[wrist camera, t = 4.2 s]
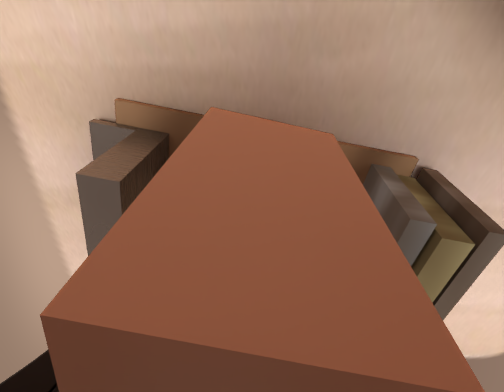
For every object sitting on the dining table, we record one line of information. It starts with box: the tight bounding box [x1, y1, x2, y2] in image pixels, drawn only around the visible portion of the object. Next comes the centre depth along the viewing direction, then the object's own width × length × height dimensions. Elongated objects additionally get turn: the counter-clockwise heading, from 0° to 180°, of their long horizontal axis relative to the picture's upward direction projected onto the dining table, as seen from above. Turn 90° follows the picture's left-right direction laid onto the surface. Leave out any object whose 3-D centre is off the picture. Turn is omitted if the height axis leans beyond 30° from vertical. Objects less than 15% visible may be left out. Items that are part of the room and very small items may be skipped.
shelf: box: [115, 98, 504, 320], centre depth 19 cm, size 22×13×8 cm, turn 80°
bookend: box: [76, 119, 169, 256], centre depth 19 cm, size 5×10×7 cm, turn 170°
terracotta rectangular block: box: [40, 107, 485, 392], centre depth 8 cm, size 4×9×7 cm, turn 168°
